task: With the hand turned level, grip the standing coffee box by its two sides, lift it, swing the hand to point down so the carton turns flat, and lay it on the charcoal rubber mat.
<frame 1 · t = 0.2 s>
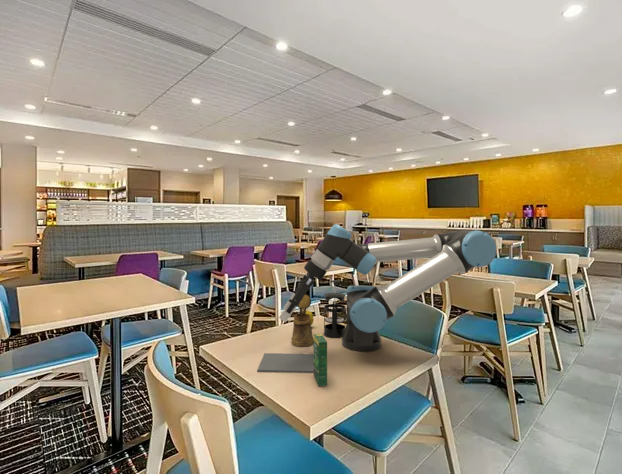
hand: (284, 314, 121), 15 cm above the table, tool tilted 35°, fingers open, 13 cm apart
french press: (334, 334, 147), on the table
lemon: (307, 328, 156), on the table
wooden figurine: (303, 341, 139), on the table
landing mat: (287, 363, 117), on the table
coffee box: (319, 380, 104), on the table
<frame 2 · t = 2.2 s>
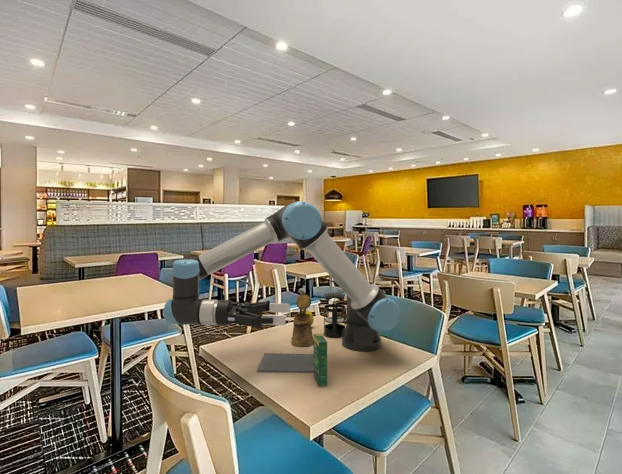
hand: (287, 313, 104), 20 cm above the table, tool horizontal, fingers open, 13 cm apart
nothing on the table moved.
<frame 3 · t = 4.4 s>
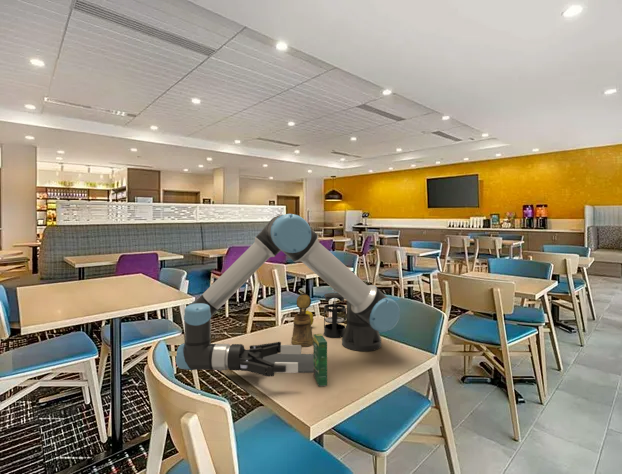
hand: (299, 358, 104), 7 cm above the table, tool horizontal, fingers open, 13 cm apart
nothing on the table moved.
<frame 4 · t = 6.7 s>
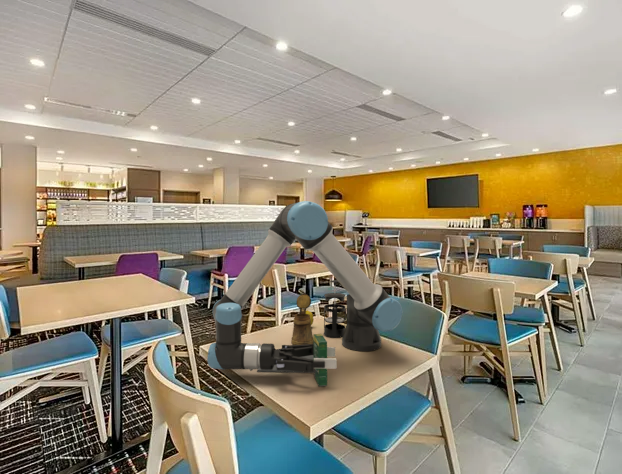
hand: (335, 357, 104), 7 cm above the table, tool horizontal, fingers closed on coffee box, 8 cm apart
coffee box: (319, 380, 104), on the table, touching gripper
everything else where it was.
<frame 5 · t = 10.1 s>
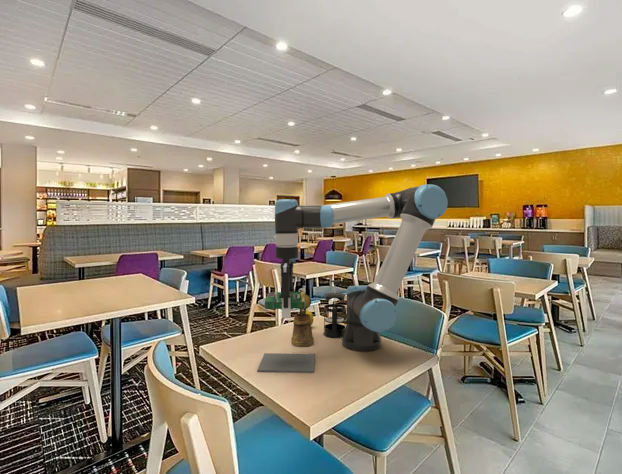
hand: (287, 313, 116), 17 cm above the table, tool pointing down, fingers closed on coffee box, 8 cm apart
coffee box: (265, 300, 116), point 21 cm above the table, touching gripper
everything else where it was.
when the fingers open (2 cm above the table, at t = 13.5 s): coffee box drops 4 cm, resting on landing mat.
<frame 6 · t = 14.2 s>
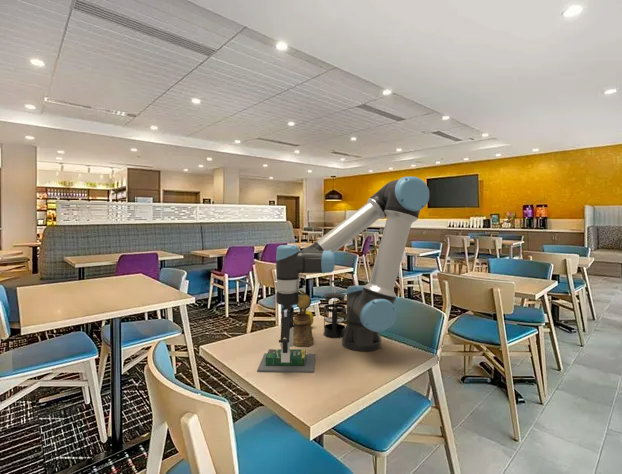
hand: (287, 353, 117), 3 cm above the table, tool pointing down, fingers open, 13 cm apart
coffee box: (266, 356, 117), point 2 cm above the table, touching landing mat
everything else where it was.
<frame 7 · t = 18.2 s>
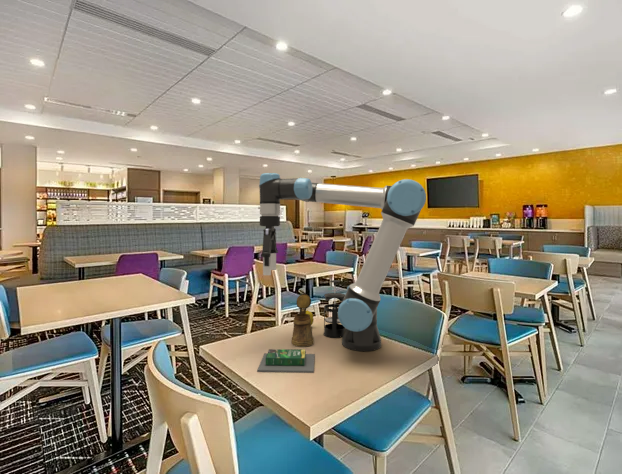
hand: (269, 272, 130), 29 cm above the table, tool pointing down, fingers open, 13 cm apart
nothing on the table moved.
at the end: coffee box tilted 90°; coffee box touching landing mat; coffee box inside the target area (6.2 cm from its centre), point 2.0 cm above the table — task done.
